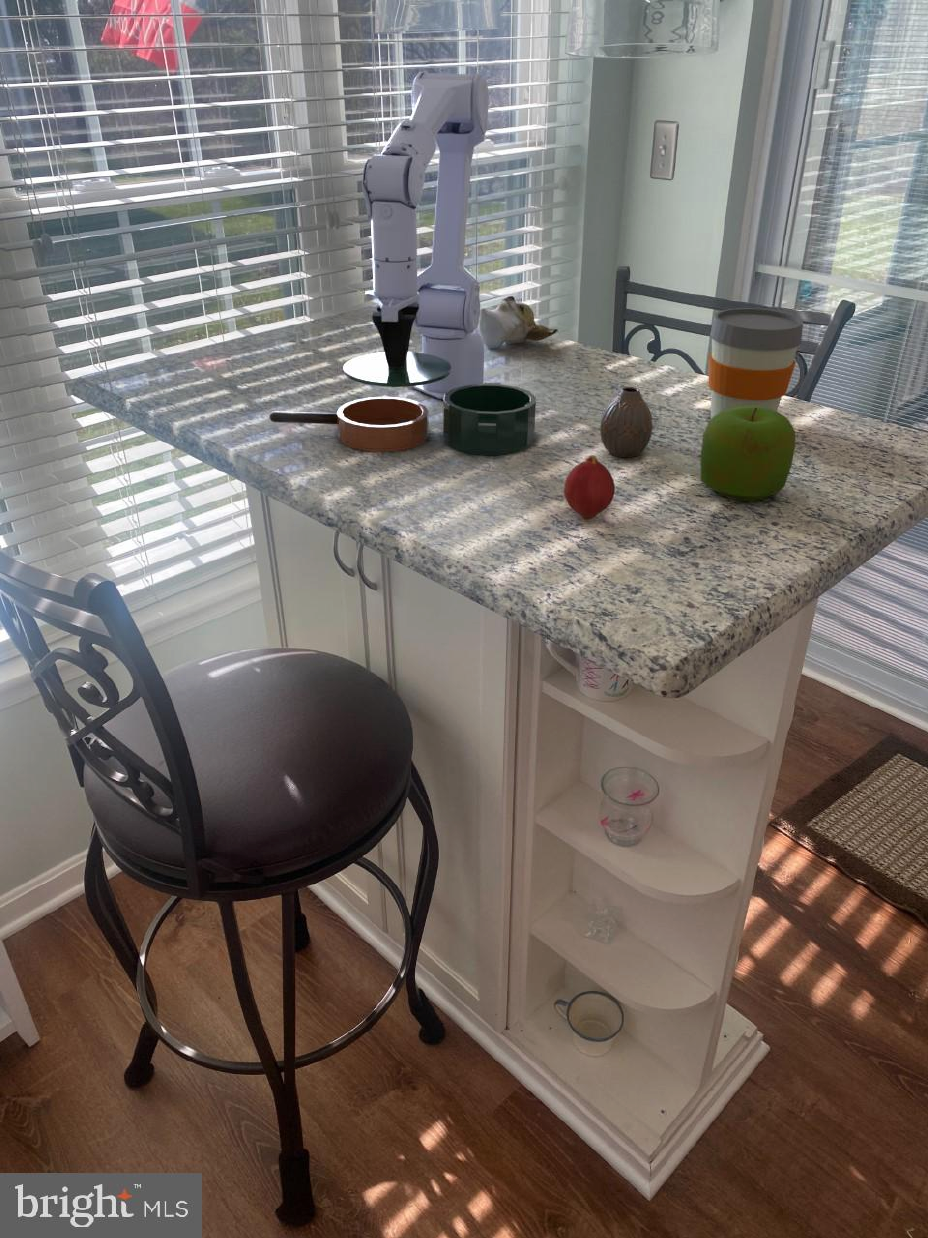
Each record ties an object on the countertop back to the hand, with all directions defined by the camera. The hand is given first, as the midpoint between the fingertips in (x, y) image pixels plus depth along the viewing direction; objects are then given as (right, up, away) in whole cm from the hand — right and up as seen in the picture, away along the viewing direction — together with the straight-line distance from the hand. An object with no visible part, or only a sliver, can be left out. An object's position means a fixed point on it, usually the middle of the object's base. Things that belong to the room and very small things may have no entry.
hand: (397, 362), depth 133 cm
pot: (+13, -9, +5) cm, 16 cm away
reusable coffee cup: (+50, -6, +12) cm, 52 cm away
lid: (0, -1, 0) cm, 1 cm away
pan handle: (-13, -7, +5) cm, 16 cm away
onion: (+24, -23, -17) cm, 37 cm away
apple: (+44, -19, -10) cm, 49 cm away
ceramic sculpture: (+18, +16, +47) cm, 52 cm away
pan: (-2, -9, +5) cm, 11 cm away
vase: (+31, -12, +1) cm, 33 cm away
